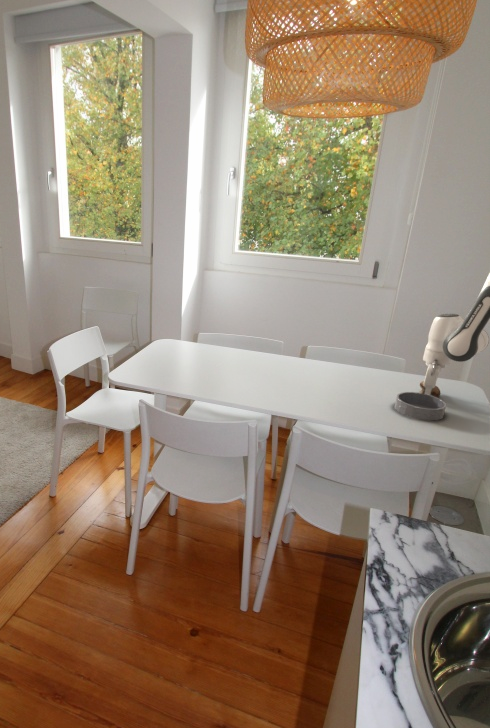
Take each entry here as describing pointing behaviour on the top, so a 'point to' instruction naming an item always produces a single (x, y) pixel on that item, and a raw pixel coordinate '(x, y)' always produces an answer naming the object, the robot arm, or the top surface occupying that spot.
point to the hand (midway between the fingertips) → (428, 391)
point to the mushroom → (434, 391)
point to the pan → (420, 406)
